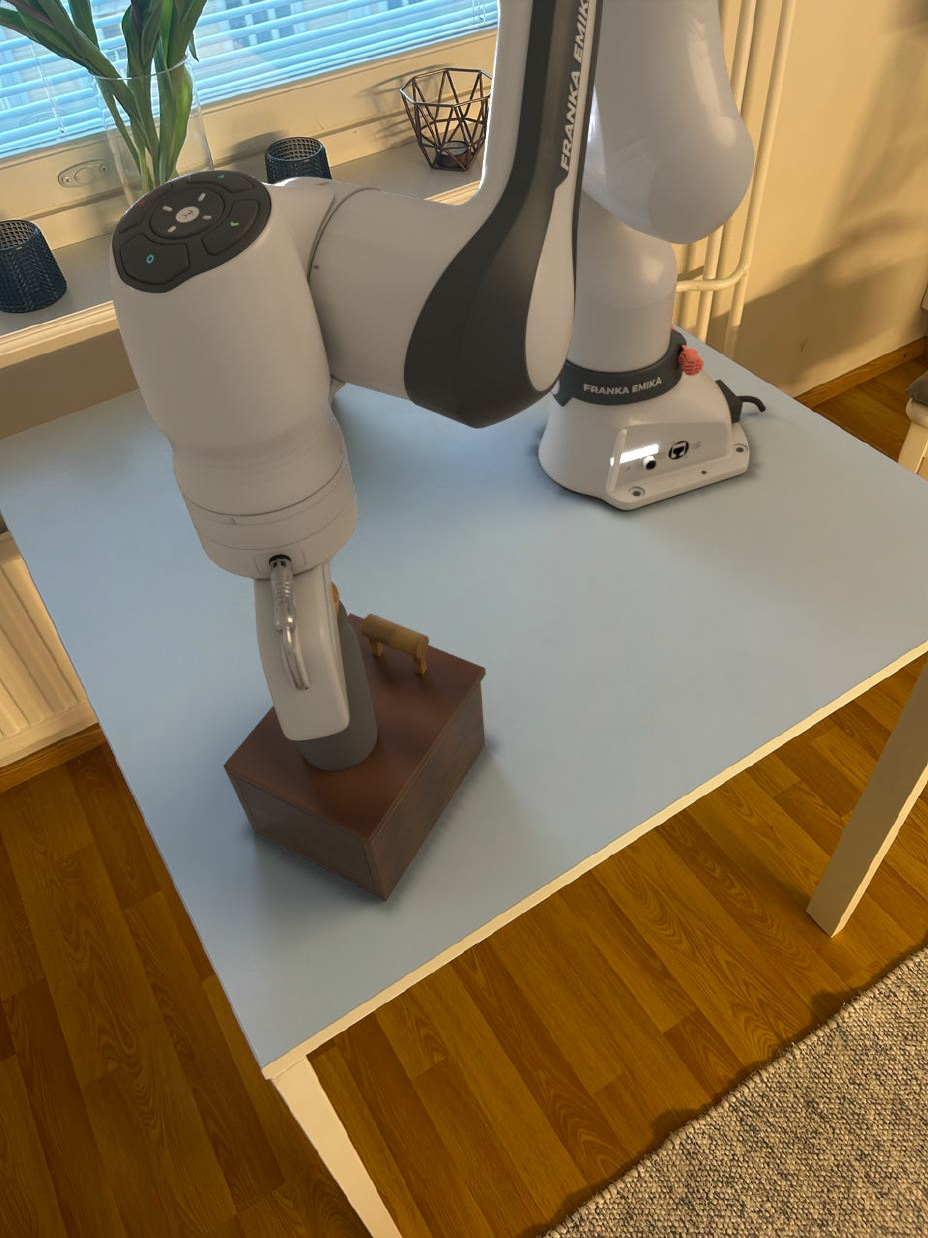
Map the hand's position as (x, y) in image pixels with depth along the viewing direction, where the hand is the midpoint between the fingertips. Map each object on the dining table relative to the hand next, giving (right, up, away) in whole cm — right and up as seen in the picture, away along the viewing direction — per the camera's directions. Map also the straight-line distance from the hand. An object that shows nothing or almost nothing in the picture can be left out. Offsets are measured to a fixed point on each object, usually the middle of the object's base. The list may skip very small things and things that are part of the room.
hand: (320, 657), depth 61 cm
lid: (+2, -5, +9) cm, 10 cm away
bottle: (0, -6, +7) cm, 10 cm away
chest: (+2, -11, +15) cm, 19 cm away
